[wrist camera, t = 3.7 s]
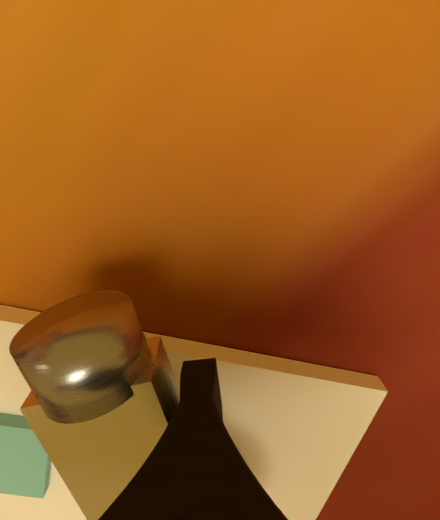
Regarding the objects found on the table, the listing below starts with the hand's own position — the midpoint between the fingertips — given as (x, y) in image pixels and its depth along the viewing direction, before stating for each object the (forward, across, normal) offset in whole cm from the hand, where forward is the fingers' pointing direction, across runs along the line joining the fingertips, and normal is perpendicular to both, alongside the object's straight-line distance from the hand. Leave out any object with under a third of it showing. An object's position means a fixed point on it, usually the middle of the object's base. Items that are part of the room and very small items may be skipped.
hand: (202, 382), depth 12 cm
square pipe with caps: (0, +2, +4) cm, 4 cm away
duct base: (+3, +2, +8) cm, 9 cm away
